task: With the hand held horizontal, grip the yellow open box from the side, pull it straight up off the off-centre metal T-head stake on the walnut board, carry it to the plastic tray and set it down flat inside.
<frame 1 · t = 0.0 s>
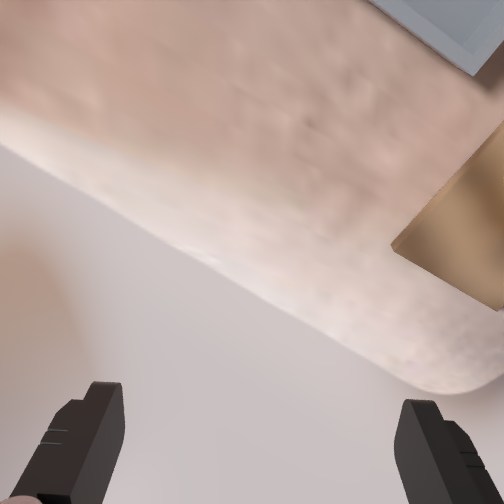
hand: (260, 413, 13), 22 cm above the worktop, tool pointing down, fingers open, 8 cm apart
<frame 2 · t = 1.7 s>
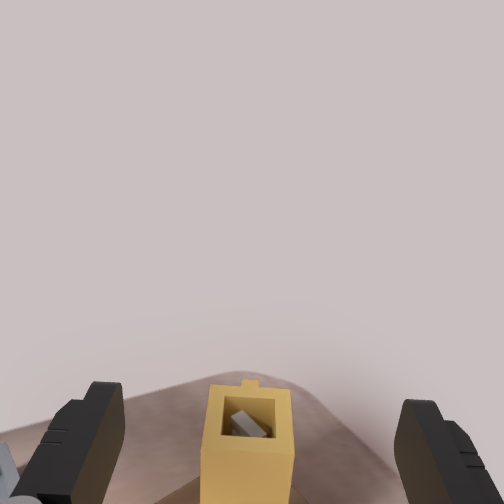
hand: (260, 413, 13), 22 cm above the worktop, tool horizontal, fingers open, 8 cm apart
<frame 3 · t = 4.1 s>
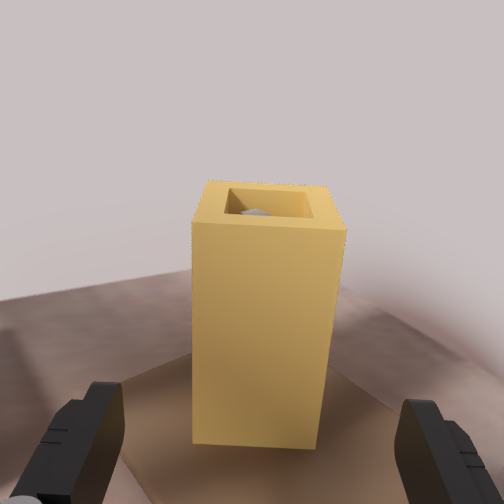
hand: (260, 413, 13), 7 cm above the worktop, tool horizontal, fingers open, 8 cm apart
yellow open box: (254, 403, 22), point 1 cm above the worktop, touching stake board
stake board: (273, 450, 21), on the worktop
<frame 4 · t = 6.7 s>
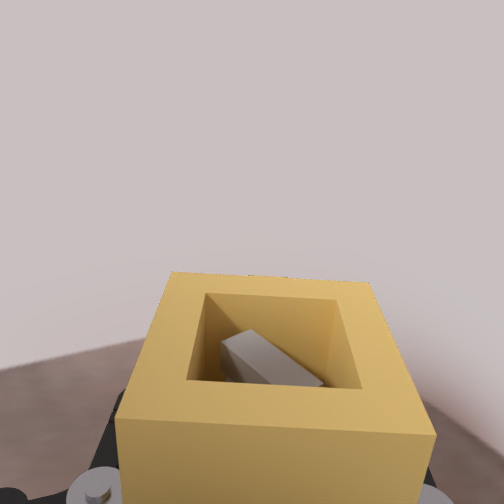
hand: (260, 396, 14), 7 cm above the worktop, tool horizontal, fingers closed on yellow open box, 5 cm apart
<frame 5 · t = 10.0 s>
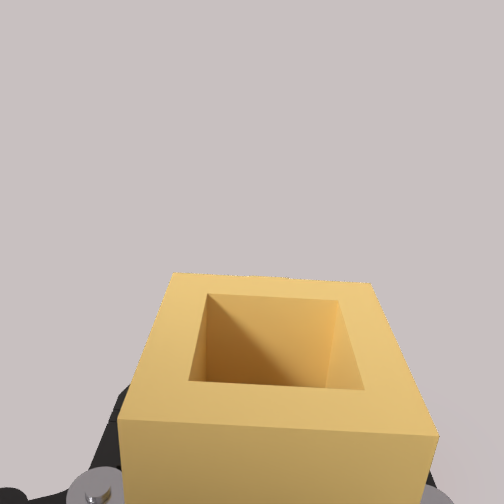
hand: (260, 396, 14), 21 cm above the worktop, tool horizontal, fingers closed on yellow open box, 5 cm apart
when the fingers open (8 cm above the worktop, at t = 13.6 s): yellow open box drops 2 cm, resting on tray.
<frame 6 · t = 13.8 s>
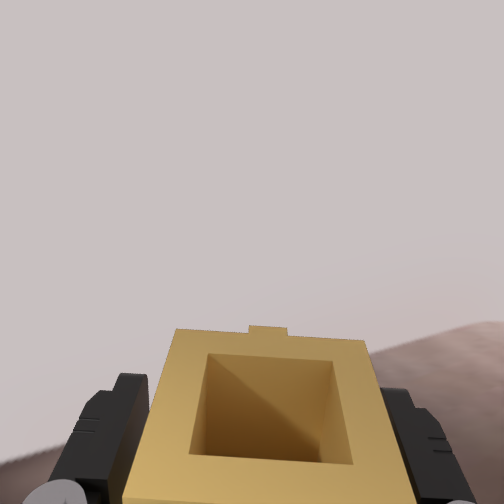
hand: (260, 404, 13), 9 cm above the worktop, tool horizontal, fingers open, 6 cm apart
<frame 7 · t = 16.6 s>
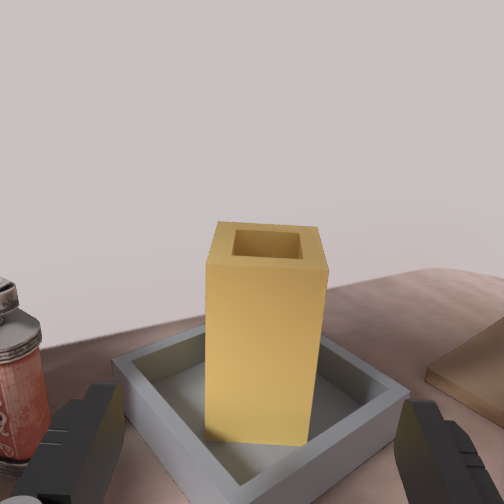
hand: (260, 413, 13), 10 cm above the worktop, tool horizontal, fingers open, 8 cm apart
yellow open box: (256, 407, 26), point 1 cm above the worktop, touching tray
tray: (254, 416, 26), on the worktop
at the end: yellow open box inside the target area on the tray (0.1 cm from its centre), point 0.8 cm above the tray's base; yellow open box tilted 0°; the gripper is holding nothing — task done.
